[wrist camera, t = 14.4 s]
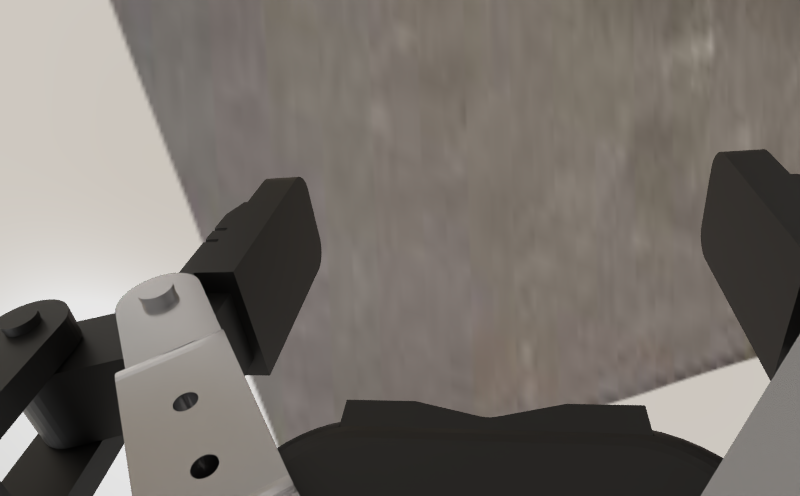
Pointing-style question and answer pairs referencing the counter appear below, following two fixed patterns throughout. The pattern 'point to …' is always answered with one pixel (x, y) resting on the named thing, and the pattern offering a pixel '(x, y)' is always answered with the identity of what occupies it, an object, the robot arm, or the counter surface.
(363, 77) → the counter surface
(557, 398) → the counter surface
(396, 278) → the counter surface
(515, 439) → the robot arm
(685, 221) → the counter surface
